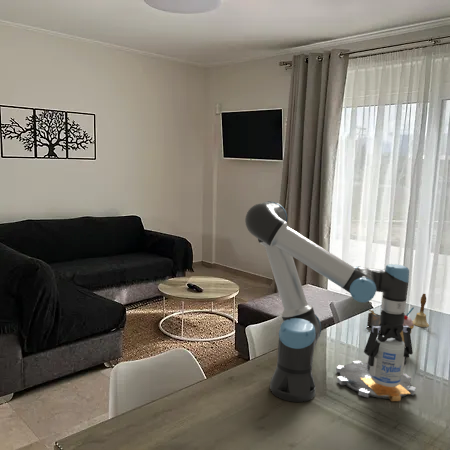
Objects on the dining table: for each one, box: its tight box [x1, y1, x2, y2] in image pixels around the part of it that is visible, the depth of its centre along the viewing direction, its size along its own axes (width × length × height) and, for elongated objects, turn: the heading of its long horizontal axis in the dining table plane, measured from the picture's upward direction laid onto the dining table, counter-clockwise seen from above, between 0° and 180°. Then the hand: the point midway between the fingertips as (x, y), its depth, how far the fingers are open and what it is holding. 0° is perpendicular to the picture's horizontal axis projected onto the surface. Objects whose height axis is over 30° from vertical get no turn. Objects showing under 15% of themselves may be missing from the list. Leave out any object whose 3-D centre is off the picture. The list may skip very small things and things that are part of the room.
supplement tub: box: [371, 336, 405, 387], centre depth 155 cm, size 10×10×15 cm
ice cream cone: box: [400, 307, 415, 346], centre depth 193 cm, size 11×11×20 cm
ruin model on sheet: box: [366, 309, 381, 333], centre depth 216 cm, size 11×3×10 cm, turn 41°
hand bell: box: [412, 293, 430, 328], centre depth 229 cm, size 8×8×16 cm
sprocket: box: [335, 355, 417, 402], centre depth 162 cm, size 27×27×9 cm
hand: (385, 373), depth 155 cm, fingers closed on supplement tub, 10 cm apart
